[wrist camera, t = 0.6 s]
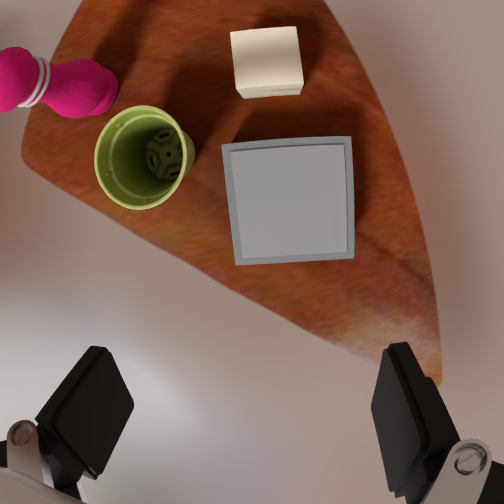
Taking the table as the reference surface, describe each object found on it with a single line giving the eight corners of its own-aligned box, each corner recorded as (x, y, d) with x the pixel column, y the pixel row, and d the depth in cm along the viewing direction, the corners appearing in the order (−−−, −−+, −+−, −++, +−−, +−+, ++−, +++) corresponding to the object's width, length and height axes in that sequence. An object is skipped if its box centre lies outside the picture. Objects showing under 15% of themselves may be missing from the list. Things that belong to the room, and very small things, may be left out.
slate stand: (230, 144, 31) (220, 144, 26) (340, 137, 30) (351, 136, 25) (241, 248, 35) (235, 266, 30) (344, 242, 34) (354, 258, 29)
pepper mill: (70, 111, 30) (-53, 114, 12) (90, 61, 28) (-28, 34, 9) (108, 126, 31) (-23, 131, 12) (131, 72, 29) (9, 34, 10)
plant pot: (124, 133, 31) (82, 134, 23) (194, 100, 30) (166, 88, 21) (149, 204, 34) (114, 223, 26) (221, 177, 32) (201, 188, 24)
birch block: (238, 50, 27) (230, 32, 22) (293, 45, 26) (295, 26, 21) (244, 98, 29) (236, 89, 24) (299, 94, 28) (303, 83, 23)
